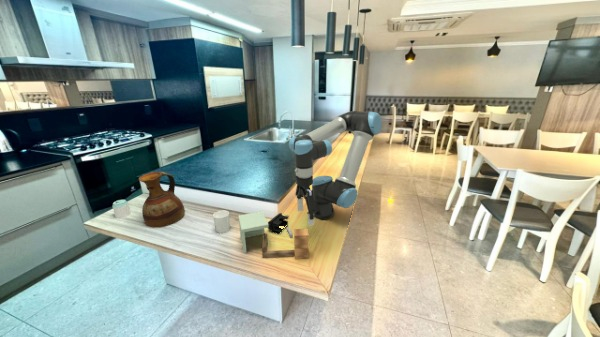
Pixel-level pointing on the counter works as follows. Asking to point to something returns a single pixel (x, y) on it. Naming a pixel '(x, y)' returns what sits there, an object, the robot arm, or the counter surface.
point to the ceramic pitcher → (161, 201)
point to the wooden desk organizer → (299, 250)
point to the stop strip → (289, 232)
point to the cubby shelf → (251, 226)
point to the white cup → (222, 221)
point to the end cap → (277, 223)
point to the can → (121, 209)
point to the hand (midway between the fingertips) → (305, 217)
